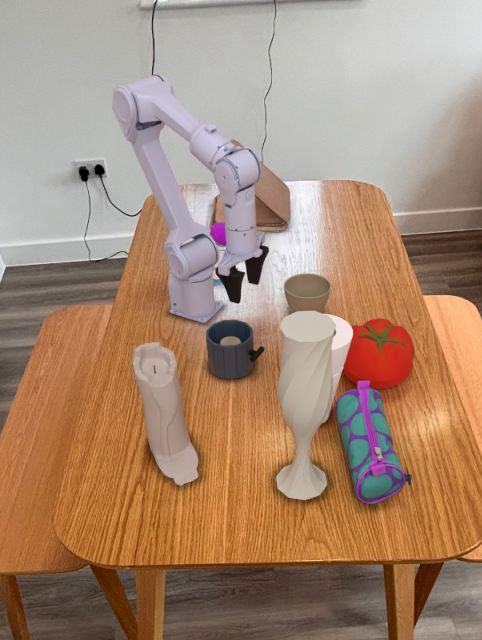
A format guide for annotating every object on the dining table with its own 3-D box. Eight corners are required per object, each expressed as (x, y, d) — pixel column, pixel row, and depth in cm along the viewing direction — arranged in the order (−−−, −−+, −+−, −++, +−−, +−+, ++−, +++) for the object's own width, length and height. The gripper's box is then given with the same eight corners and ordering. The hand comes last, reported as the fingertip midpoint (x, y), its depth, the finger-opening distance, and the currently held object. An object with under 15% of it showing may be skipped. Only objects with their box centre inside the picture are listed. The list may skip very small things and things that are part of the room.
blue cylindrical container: (200, 371, 127) (197, 339, 122) (223, 347, 132) (221, 315, 127) (249, 387, 124) (247, 354, 118) (271, 361, 129) (270, 329, 123)
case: (290, 233, 164) (291, 167, 152) (208, 234, 165) (203, 168, 152) (290, 198, 177) (291, 134, 165) (214, 198, 178) (210, 135, 166)
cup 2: (278, 427, 116) (278, 344, 103) (296, 392, 123) (299, 309, 109) (335, 440, 114) (343, 356, 100) (350, 403, 120) (360, 319, 106)
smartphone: (233, 250, 157) (221, 280, 147) (233, 254, 158) (221, 285, 148) (203, 248, 158) (189, 278, 148) (203, 253, 159) (190, 283, 149)
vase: (274, 464, 110) (273, 309, 87) (322, 460, 111) (333, 305, 88) (279, 502, 105) (280, 347, 82) (330, 498, 105) (344, 343, 82)
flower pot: (326, 330, 136) (328, 299, 130) (279, 325, 137) (279, 295, 132) (332, 304, 142) (334, 274, 137) (287, 300, 144) (287, 270, 138)
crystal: (228, 235, 164) (227, 217, 160) (232, 245, 161) (231, 227, 157) (208, 238, 163) (206, 220, 160) (212, 248, 160) (210, 230, 156)
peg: (218, 365, 128) (216, 344, 124) (228, 355, 130) (226, 334, 126) (235, 371, 126) (234, 350, 122) (245, 360, 128) (244, 339, 125)
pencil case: (406, 505, 103) (416, 463, 96) (352, 510, 103) (357, 468, 96) (378, 420, 117) (385, 377, 110) (330, 424, 117) (334, 381, 109)
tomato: (348, 406, 120) (353, 362, 112) (328, 354, 130) (331, 311, 123) (422, 397, 121) (431, 353, 113) (396, 346, 131) (403, 303, 124)
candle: (169, 489, 107) (151, 396, 92) (145, 438, 115) (124, 344, 100) (209, 476, 109) (198, 382, 94) (182, 427, 117) (168, 333, 102)
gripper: (239, 246, 111) (243, 315, 121) (278, 212, 119) (279, 279, 130) (205, 238, 114) (212, 306, 124) (245, 205, 122) (248, 272, 132)
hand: (244, 292), depth 127 cm, fingers open, 7 cm apart
